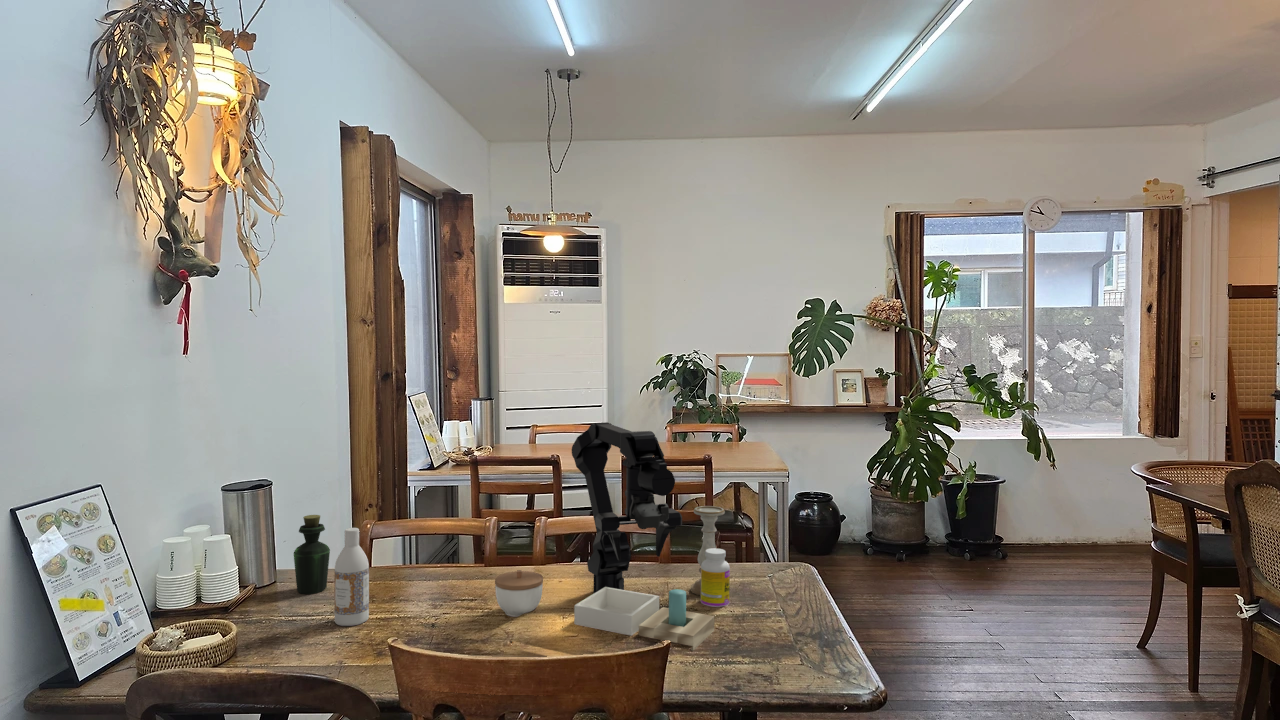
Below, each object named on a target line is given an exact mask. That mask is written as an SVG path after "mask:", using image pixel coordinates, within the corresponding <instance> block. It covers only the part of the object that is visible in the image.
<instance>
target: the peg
mask: <svg viewBox="0 0 1280 720" xmlns="http://www.w3.org/2000/svg"><path fill="white" fill-rule="evenodd" d="M668 608H669V624H670V625H675V626H681V627H685V626H686V611H687V591H685V590H684V589H680V588H679V589H671V590H669V591H668Z"/></svg>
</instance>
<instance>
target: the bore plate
mask: <svg viewBox="0 0 1280 720" xmlns="http://www.w3.org/2000/svg"><path fill="white" fill-rule="evenodd" d="M714 631H715V615H710V614H705V613H700V612H693V611H688V610H686V626H685V627H681V626H675V625H670V624H669V607H661V608H659V610H658V611H657V612H656V613H654V614H653V615H652V616H650V617H649V618H648V619H647V620H645V621H644V622H643V623H641V624H640V625H639V630H638V636H639V637H643V638H644V637H645V638H650V639H655V640H660V641H664V640H670V641H671V642H670V643H675V644H680V645H684V646H685V645H686V646H689V647H691V648H690V649H689V651H691V652H694V651H695V650H696V649H697V648H698V647H699V646H700V645H701V644H702V643H703V642H704V641H705V640H706V639H707V638H709V636H710V635H711V634H712V633H713V632H714Z"/></svg>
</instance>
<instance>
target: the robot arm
mask: <svg viewBox="0 0 1280 720" xmlns="http://www.w3.org/2000/svg"><path fill="white" fill-rule="evenodd" d="M612 446H614V447H616V448H619V453H620V454H621V455H623V456H624V457H625V458H626V459H624V460H623V461H622V465H623V466H626V487H625V488H626V489H625V490H624V496H625V499H626V502H625V505H626V506H625V508H624V514H625V515H619V516H618V515H617V514H615V512H614V510H613V507H612V501H611V496H610V492H609V488H608V482H607V478H606V475H605V468H606V466H607V462H608V459H609V458H608V453H609V451H610V450H611V448H612ZM571 456H572V458H573V460H574V463H575V466H576V468H577V469H578V470H579V471H580V473H581V474H582V475H583V476H584V478H585V483H586V487H587V493H588V496H589V497H588V498H589V501H590V506H591V511H592V516H593V521H594V526H595V531H596V535H595V539H594V541H593V543H592V551H593V552H592V554H591V555H590V557H589V558H588V560H587V562H586V563H587V564H586V565H587V571H588V572H590V573H591V574H593V589H592V590H593V594H594V593H596V592H598V591H599V590H601V589H603V588H604V587H609V588H615V589H621V590H625V578H624V577H623V572H628V571H629V567H630V562H631V557H632V551H631V547H630V545H629V541H628V535H627V533H626V532H625V531H622V532H621V530H620V529H619V528H620V526H622V525H623V526H624V525H637V527H638V528H639V529H640V530H646V529H655V553H656V554H655V555H656V557H658V558H659V557H660V556H661V553H662V551H663V548H664V545H665V543H666V541H667V538H668V536H669V535H670V533H671V532H672V531H673V530H677V526H678V527H680V526H682V525H683V515H682V513H681V512H679V511H677V510H676V509H674V508H672V507H671V508H669V505H668V503H659V504H656V503H655V497H654V496H655V495H656V496H661V497H665V496H668V495H670V494H671V493H672V492H673V490H674V488H675V485H676V478H675V476H674V473H673V472H672V471H671V470H670V469H668V464H667V462H666V460H665V457H664V456H665V454H664V452H663V450H662V449H661V445H660V442H659V441H658V437H656V434H655V433H654V432H653V431H651V430H643V431H642V430H641V431H639V430H638V431H632V430H628V429H625V428H623V427H620V426H618V425H617V426H616V425H613V424H612V423H610V422H608V421H607V422H593V423H591V424H590V425H589V427H588V429H587V430H585V431H584V432H583V433H581V434H579V435H578V436H577V437H576V439H575V441H574V443H573V444H572V446H571Z"/></svg>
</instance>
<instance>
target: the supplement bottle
mask: <svg viewBox="0 0 1280 720" xmlns="http://www.w3.org/2000/svg"><path fill="white" fill-rule="evenodd" d="M705 556H706V560H705V561H703V562H702V564H701V566H700V568H701V573H700V579H701V596H700V603H701V604H702V605H704V606H707V607H713V608H715V607H716V608H719V607H720V608H721V607H726V606H728V605H730V584H731V583H730V577H731V575H730V570H731V567H730V563H728V561H727V560H725V559H726V550H725V549H723V548H717V547H716V548H711V549H707V550H706V552H705Z"/></svg>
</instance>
